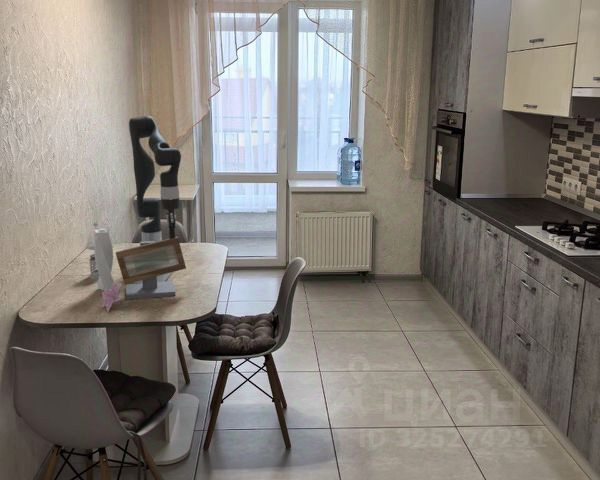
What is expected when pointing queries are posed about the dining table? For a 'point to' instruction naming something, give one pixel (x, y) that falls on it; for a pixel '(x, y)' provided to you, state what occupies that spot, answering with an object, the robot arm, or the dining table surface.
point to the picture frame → (150, 260)
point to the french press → (93, 262)
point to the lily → (111, 296)
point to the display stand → (149, 286)
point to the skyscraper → (104, 258)
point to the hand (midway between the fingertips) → (172, 237)
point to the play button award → (158, 278)
